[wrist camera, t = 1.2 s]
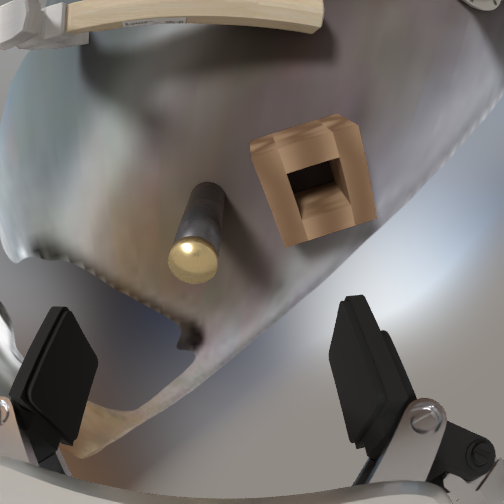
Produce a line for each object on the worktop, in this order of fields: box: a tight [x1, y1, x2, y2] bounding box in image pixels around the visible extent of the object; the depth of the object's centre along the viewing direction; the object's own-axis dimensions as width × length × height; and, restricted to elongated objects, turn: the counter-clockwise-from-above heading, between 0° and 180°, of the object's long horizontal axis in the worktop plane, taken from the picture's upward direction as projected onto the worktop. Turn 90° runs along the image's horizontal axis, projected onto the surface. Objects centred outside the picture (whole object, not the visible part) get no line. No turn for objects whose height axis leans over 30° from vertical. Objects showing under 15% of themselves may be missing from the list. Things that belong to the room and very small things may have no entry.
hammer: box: [0, 0, 324, 50], centre depth 20 cm, size 16×5×30 cm
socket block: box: [250, 114, 377, 248], centre depth 33 cm, size 11×11×7 cm
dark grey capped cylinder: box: [168, 182, 225, 284], centre depth 32 cm, size 4×4×14 cm
